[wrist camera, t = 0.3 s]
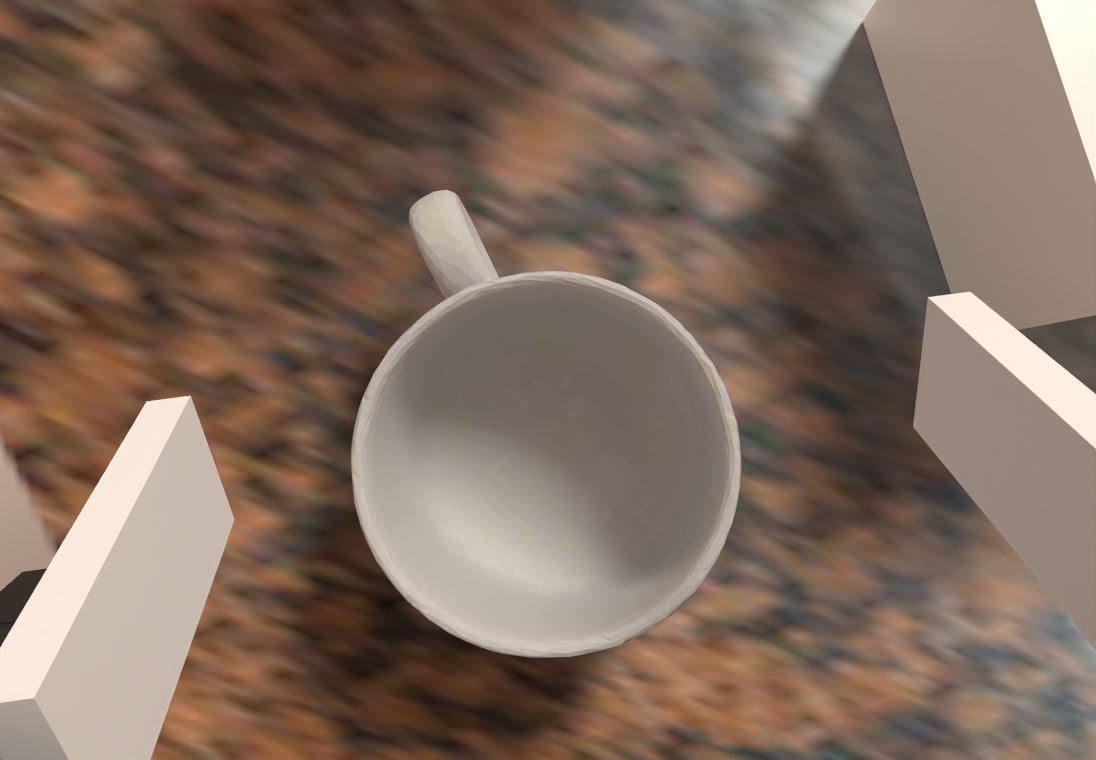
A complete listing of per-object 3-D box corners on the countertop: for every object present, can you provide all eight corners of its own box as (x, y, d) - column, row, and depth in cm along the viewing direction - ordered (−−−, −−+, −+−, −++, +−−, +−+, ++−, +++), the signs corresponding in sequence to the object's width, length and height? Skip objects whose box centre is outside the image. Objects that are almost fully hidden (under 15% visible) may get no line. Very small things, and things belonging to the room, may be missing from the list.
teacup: (737, 563, 32) (785, 614, 24) (442, 631, 32) (393, 703, 24) (644, 186, 33) (662, 113, 25) (356, 257, 33) (281, 208, 25)
